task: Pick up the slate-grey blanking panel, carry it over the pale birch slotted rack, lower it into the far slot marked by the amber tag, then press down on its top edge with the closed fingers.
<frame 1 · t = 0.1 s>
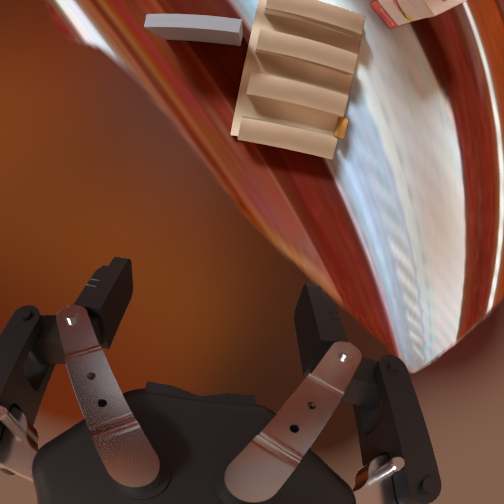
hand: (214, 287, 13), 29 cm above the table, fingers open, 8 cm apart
rack: (298, 73, 33), on the table
blanking panel: (203, 36, 30), on the table
ink cartridge box: (397, 7, 26), on the table
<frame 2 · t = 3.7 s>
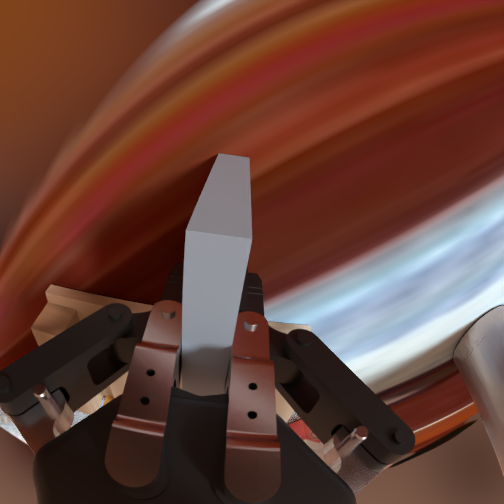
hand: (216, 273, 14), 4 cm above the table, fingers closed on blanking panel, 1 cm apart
rack: (171, 366, 23), on the table
blanking panel: (221, 239, 17), on the table, touching gripper
ink cartridge box: (306, 431, 31), on the table
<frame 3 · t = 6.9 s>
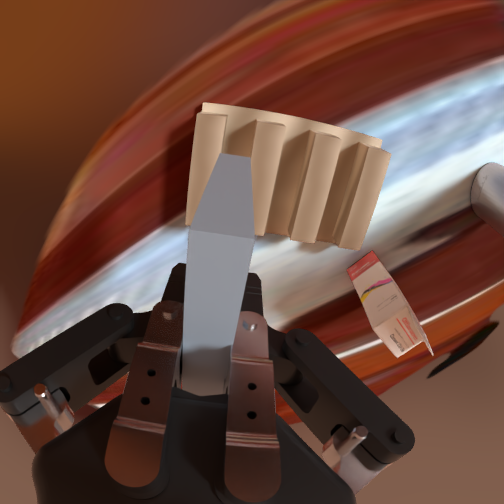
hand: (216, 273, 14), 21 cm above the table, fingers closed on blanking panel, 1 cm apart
rack: (284, 175, 33), on the table
blanking panel: (222, 238, 17), point 17 cm above the table, touching gripper
ink cartridge box: (371, 276, 41), on the table
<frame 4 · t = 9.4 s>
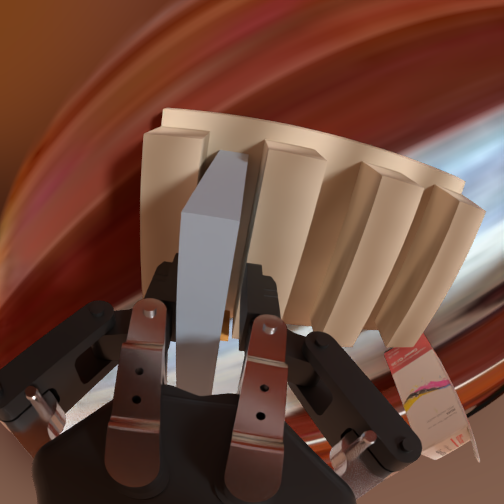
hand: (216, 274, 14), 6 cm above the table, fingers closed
rack: (310, 237, 20), on the table
blanking panel: (221, 231, 18), point 1 cm above the table, touching rack
ink cartridge box: (412, 355, 27), on the table
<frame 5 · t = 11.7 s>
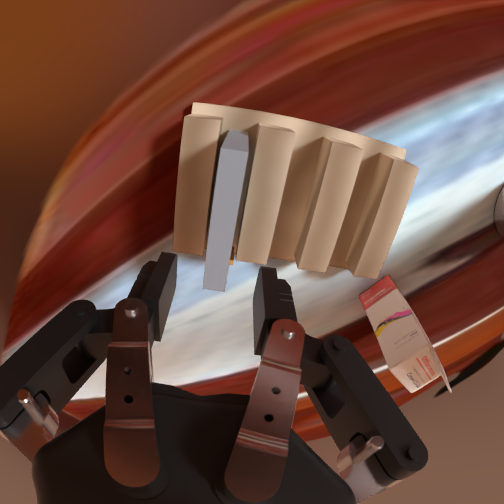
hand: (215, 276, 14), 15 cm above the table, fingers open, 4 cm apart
rack: (291, 191, 28), on the table
blanking panel: (229, 184, 26), point 1 cm above the table, touching rack
ink cartridge box: (385, 301, 36), on the table
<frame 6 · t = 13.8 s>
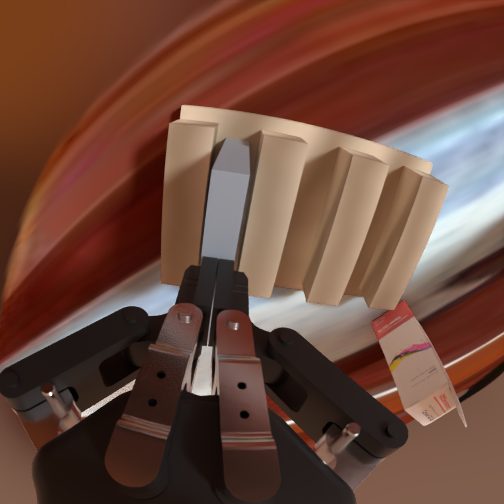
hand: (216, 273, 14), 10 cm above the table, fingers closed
rack: (299, 211, 24), on the table
blanking panel: (227, 203, 22), point 1 cm above the table, touching rack
ink cartridge box: (398, 327, 31), on the table
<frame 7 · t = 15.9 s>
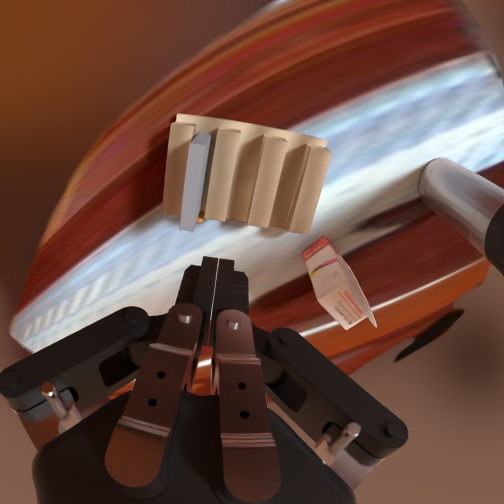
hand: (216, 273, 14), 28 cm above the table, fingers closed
rack: (243, 172, 40), on the table
blanking panel: (201, 168, 38), point 1 cm above the table, touching rack
ink cartridge box: (326, 260, 48), on the table
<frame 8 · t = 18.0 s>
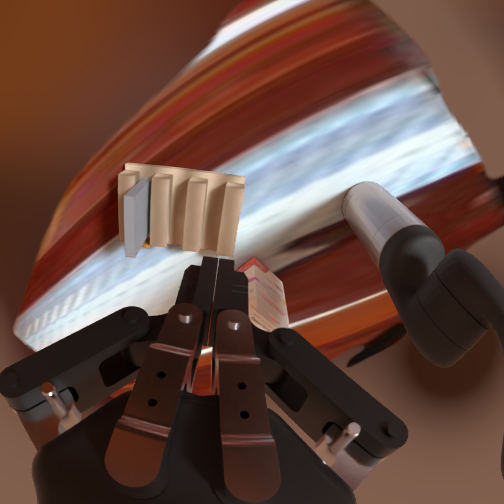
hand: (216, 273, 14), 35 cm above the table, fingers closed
rack: (180, 207, 50), on the table
blanking panel: (146, 205, 48), point 1 cm above the table, touching rack
ink cartridge box: (259, 276, 57), on the table
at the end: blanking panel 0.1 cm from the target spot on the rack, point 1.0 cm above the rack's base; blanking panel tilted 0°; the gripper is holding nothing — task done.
